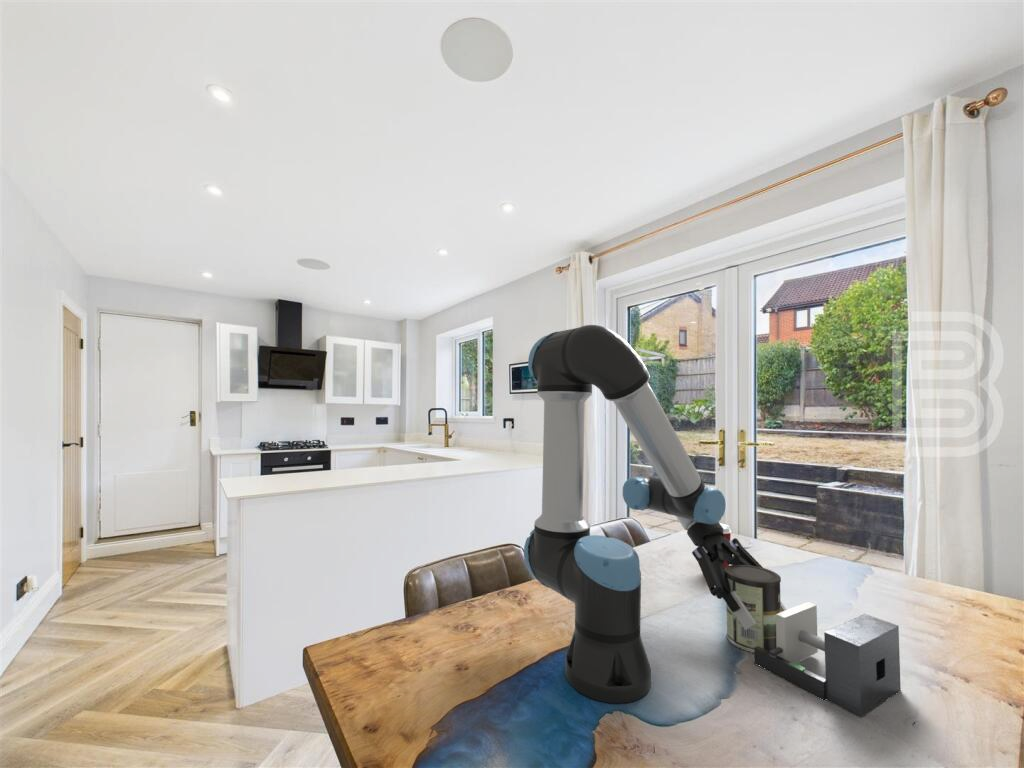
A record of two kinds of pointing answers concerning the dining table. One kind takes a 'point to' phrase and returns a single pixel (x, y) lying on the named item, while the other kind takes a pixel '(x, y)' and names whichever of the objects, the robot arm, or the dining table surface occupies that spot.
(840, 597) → the dining table surface
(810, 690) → the frame
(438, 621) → the dining table surface
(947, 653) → the dining table surface
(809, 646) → the pressure pad
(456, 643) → the dining table surface
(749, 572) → the coffee can
